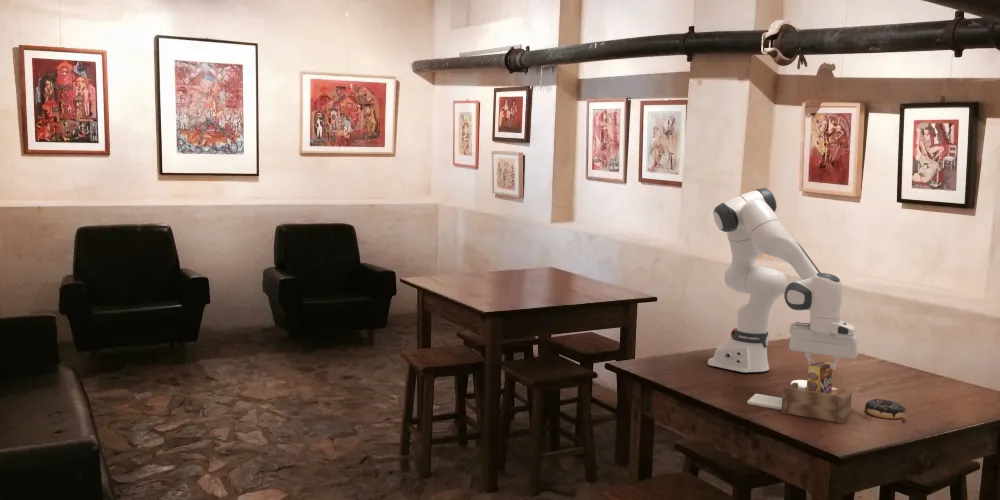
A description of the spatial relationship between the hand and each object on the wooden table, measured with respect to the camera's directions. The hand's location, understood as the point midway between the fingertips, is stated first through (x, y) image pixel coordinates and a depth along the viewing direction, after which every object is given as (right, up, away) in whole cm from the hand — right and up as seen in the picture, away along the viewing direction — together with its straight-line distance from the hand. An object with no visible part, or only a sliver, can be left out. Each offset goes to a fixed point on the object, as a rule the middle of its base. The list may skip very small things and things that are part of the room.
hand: (821, 367), depth 260 cm
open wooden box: (-1, -14, +1) cm, 14 cm away
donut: (+20, -15, 0) cm, 25 cm away
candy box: (-1, -14, +1) cm, 14 cm away
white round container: (+3, -12, +22) cm, 25 cm away
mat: (-14, -13, +9) cm, 21 cm away
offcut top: (+3, -10, +9) cm, 14 cm away
